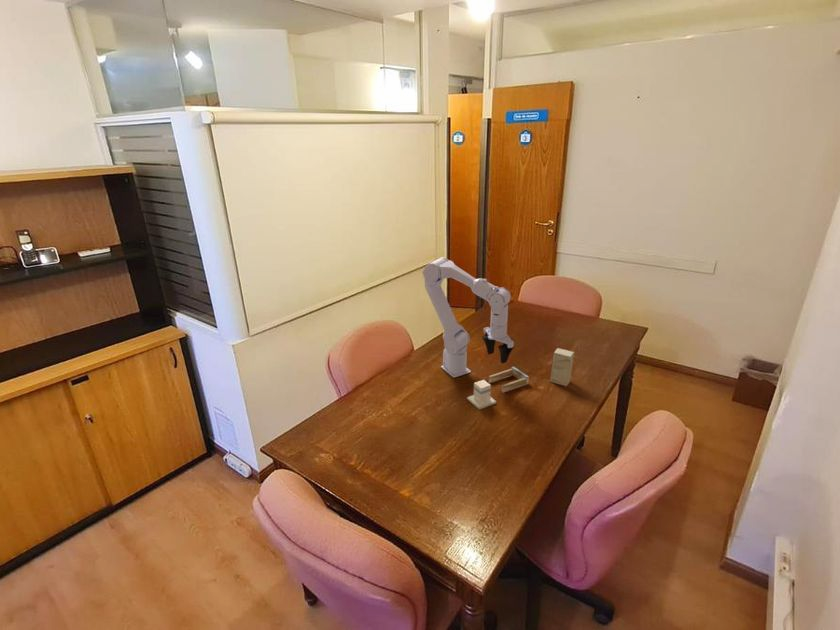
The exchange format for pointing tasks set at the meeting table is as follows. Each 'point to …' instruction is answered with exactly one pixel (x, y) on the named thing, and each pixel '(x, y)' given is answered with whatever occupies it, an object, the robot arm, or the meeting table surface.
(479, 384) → the block
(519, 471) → the meeting table surface
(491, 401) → the stand tile
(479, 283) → the robot arm
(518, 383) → the shelf bay
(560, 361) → the skincare box
